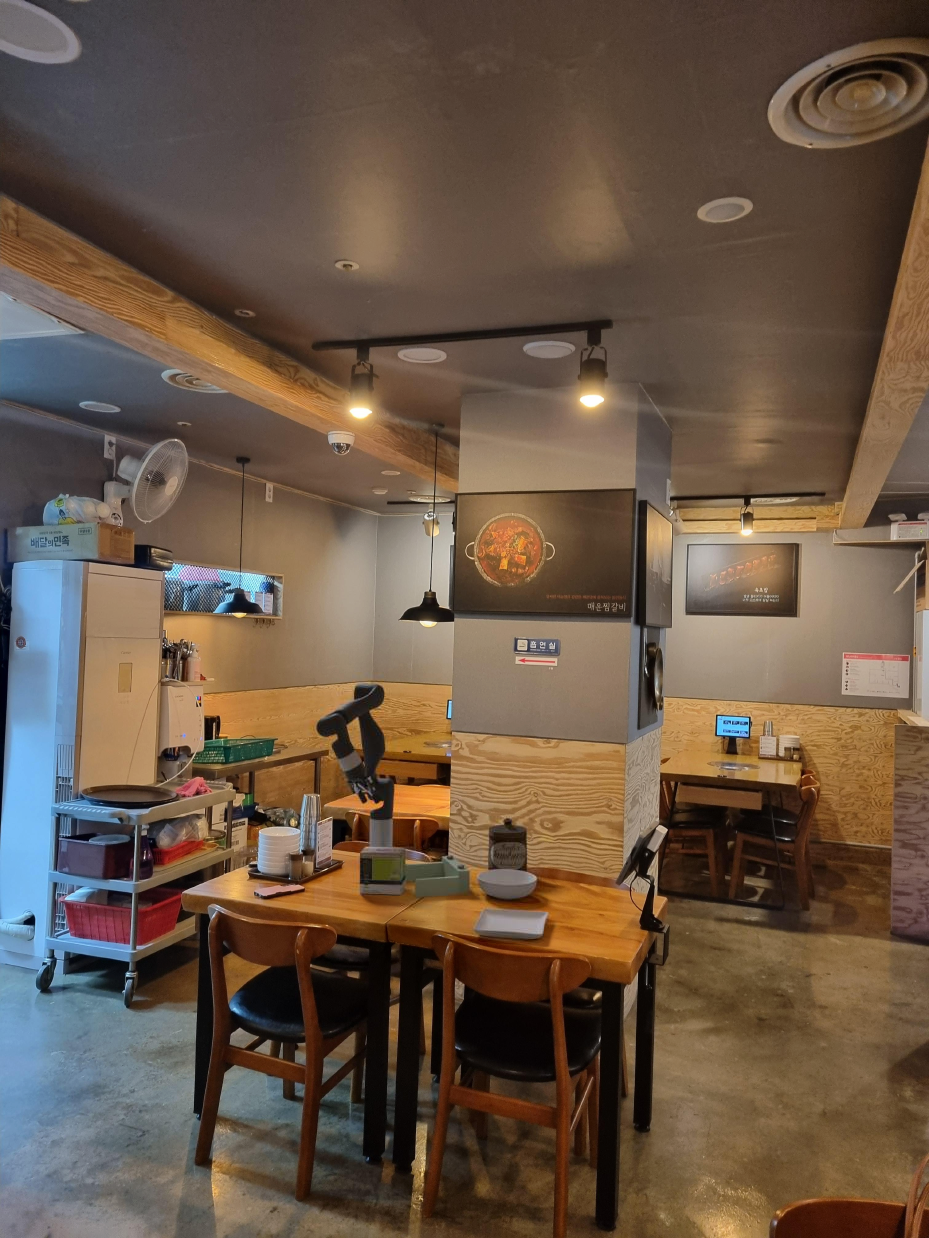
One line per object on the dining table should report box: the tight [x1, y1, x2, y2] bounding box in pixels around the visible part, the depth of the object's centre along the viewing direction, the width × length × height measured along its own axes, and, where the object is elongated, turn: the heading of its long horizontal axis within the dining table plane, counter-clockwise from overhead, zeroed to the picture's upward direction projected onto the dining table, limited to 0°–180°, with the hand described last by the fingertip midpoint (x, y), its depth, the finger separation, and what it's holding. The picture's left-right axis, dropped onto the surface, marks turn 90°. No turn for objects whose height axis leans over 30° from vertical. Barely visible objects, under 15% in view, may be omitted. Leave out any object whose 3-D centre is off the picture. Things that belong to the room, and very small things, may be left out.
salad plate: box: [472, 908, 549, 940], centre depth 263 cm, size 21×21×3 cm
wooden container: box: [487, 817, 528, 872], centre depth 325 cm, size 15×15×22 cm
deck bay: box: [405, 854, 471, 898], centre depth 308 cm, size 22×20×9 cm
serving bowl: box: [477, 869, 538, 901], centre depth 299 cm, size 21×21×7 cm
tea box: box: [359, 846, 406, 896], centre depth 303 cm, size 15×10×15 cm, turn 84°
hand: (371, 802), depth 310 cm, fingers open, 8 cm apart
